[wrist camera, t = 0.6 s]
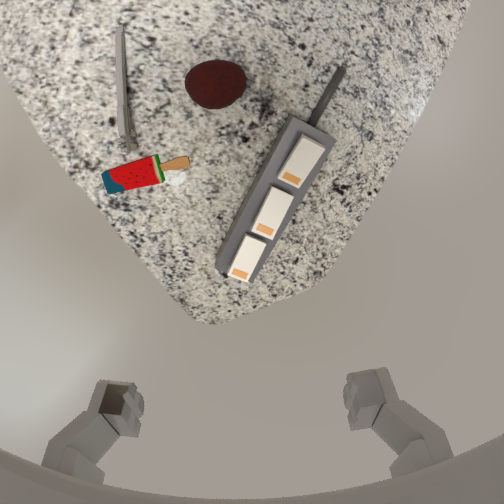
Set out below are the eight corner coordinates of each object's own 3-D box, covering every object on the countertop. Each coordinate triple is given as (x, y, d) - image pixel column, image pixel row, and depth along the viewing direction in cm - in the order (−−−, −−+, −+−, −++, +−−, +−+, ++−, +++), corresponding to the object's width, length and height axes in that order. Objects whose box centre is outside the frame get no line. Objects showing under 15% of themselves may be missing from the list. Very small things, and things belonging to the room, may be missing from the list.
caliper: (139, 146, 45) (125, 156, 39) (133, 147, 45) (119, 157, 39) (124, 26, 34) (107, 20, 29) (117, 28, 34) (100, 22, 29)
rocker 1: (245, 233, 48) (246, 235, 46) (265, 241, 48) (266, 244, 47) (227, 272, 50) (227, 275, 48) (246, 279, 50) (247, 283, 49)
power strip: (322, 55, 38) (330, 52, 33) (361, 79, 39) (374, 79, 35) (216, 255, 55) (213, 271, 51) (252, 269, 57) (252, 286, 52)
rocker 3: (302, 134, 38) (302, 137, 37) (324, 145, 39) (325, 149, 38) (277, 174, 43) (277, 178, 42) (298, 184, 44) (298, 189, 43)
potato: (237, 113, 42) (236, 118, 37) (183, 102, 41) (174, 105, 36) (251, 67, 39) (252, 65, 34) (195, 55, 38) (188, 52, 32)
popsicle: (191, 176, 46) (108, 196, 48) (193, 173, 48) (111, 193, 49) (184, 148, 44) (100, 171, 45) (186, 146, 45) (103, 169, 46)
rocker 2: (271, 185, 44) (272, 187, 42) (292, 195, 45) (294, 197, 43) (250, 228, 46) (251, 231, 44) (271, 237, 46) (272, 240, 45)
